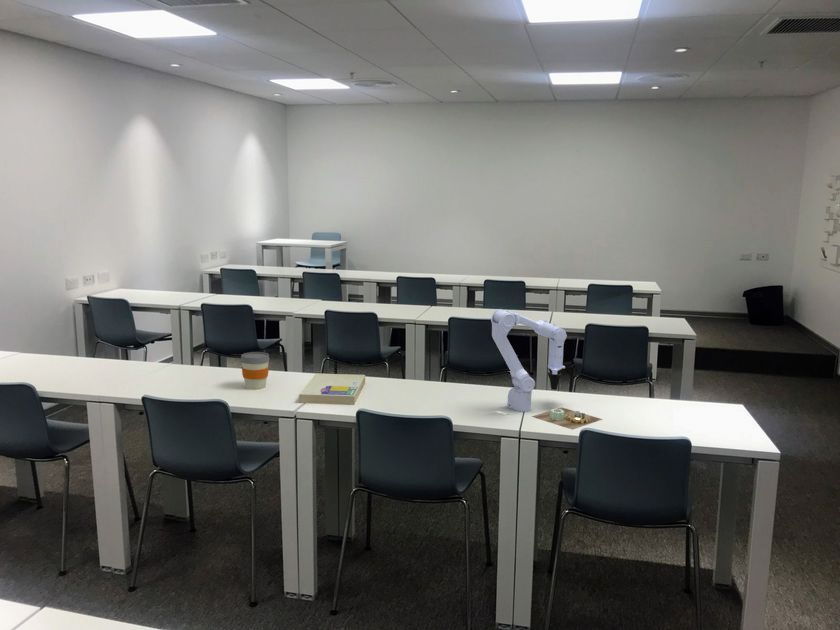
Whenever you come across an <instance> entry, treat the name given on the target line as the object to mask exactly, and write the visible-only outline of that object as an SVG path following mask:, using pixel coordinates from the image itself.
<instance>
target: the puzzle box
mask: <svg viewBox="0 0 840 630" xmlns="http://www.w3.org/2000/svg"><path fill="white" fill-rule="evenodd" d="M365 384H366V375H365V374H348V373H347V374H346V373H343V374H342V373H315V374H314V375H313V377H312V378H311V379H310V380H309V382H308V383H307V384H306V385H305V386H304V388H303V389H302V390H301V391H300V393H299V394H298V397H299V398H298V399H299V400H298V401H299V404H316V405H317V404H319V405H322V404H323V405H348V406H350V405H351V406H355V405H356V402H357V401H358V399H359V396H360V394H361V392H362V390H363V388H364V387H365Z"/></svg>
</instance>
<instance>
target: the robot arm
mask: <svg viewBox="0 0 840 630" xmlns="http://www.w3.org/2000/svg"><path fill="white" fill-rule="evenodd" d="M490 321H491V336H492V339H493V341H494V343H495V344H496V347H497V348H498V350H499V352H500V354H501V356H502V357H503V360H504V361H505V364H506V365H507V368H508V369H509V371H510V376H511V383H512V385H514V387H512V388H510V389H509V390H508V393H507V408H509V409H511V410H514V411H516V412H522V413H523V412H524V413H525V412H530V411H531V410H532V391H533V390H534V388H535V386H536V381H535V380H534V379H533V378H532V377H531V376H530V374H529V373H528V371H526V370H525V369H524V367H523V365H522V364H521V362H520V360H519V358H518V356H517V354H516V352H515V350H514V349H513V346H512V345H511V343H510V341H509V339H508V337H507V336H508V333H509V332H510V331H511V330H512V328H513V327H514V326H518V325H519V324H520V325H523V326H526V327H528V328H532V329H533V331H534V333H535V334H537V335H540V336H542V337H545V338H548V339H549V346H548V347H549V349H548V364H547V368H548V371H549V372H547V377H548V378H549V382H550V389H551V390H552V391H553V390H554V391H557V389H558V387H559V386H558V385H559V382H560V380H561V379H560V378H561V377H562V375H563V374H562V373H561V372H562V371H563V369H566V366H565V365H563V361H564V344H565V341H566V339H567V337H568V335H567V332H566V330H565V329H564V328H562V327H560V326H557V324H555V323H553V324H552V323H550V322H548V321H547V320H546V319H539V320H537V321H536V320H533V319H531V318H529V317H526V316H524V315H523V314H520V313H516V312H514V311H509V310H504V309H503V308H499V309H496V310H495V311H494V312H493V314H492V315H491V318H490Z"/></svg>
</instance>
